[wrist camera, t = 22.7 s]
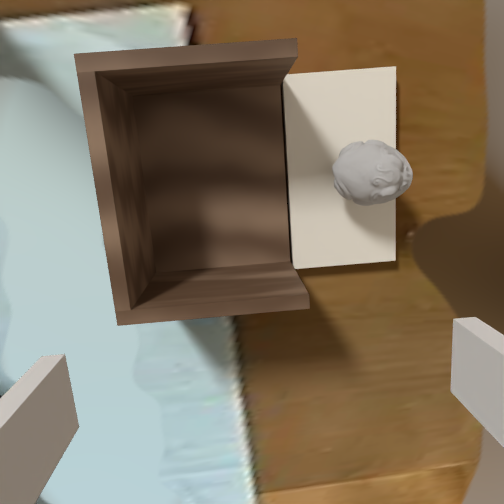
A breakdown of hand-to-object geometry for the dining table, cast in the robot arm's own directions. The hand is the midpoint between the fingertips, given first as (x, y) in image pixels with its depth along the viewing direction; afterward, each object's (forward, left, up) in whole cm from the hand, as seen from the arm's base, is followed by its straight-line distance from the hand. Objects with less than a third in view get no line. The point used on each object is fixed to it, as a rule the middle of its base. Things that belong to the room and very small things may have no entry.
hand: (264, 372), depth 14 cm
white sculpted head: (+5, -12, -29) cm, 32 cm away
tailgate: (+5, -5, -29) cm, 30 cm away
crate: (+5, +3, -31) cm, 31 cm away
